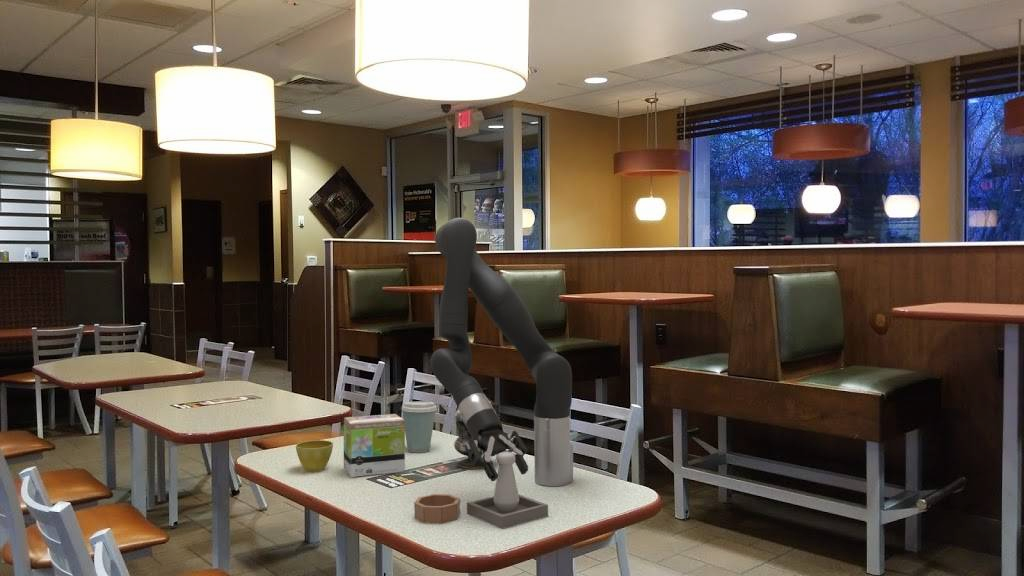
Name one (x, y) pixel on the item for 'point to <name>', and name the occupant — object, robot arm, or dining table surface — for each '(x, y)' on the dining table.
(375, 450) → the tea box
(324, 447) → the flower pot
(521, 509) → the tray
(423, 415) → the disposable coffee cup
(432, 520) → the cup ring
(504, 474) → the salt shaker
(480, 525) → the dining table surface
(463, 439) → the apothecary jar
